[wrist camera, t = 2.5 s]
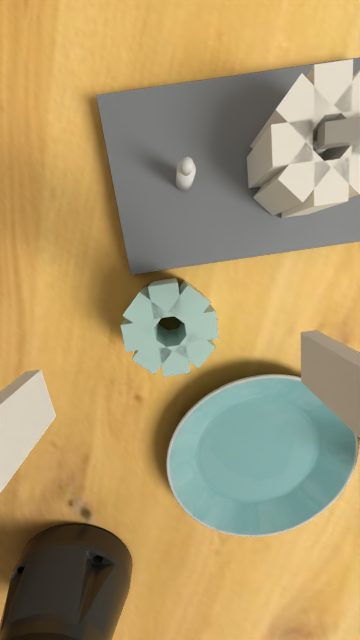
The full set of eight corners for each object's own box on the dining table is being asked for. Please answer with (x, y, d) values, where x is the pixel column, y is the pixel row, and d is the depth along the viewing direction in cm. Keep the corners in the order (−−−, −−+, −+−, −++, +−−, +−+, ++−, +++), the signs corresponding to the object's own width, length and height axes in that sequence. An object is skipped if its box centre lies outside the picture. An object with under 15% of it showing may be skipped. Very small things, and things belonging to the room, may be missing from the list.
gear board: (132, 273, 24) (121, 278, 18) (101, 106, 20) (75, 49, 15) (351, 241, 24) (406, 236, 18) (358, 70, 20) (429, -2, 15)
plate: (192, 345, 26) (194, 355, 23) (372, 385, 28) (394, 399, 25) (149, 500, 31) (147, 523, 28) (304, 524, 33) (316, 548, 31)
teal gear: (139, 358, 26) (132, 381, 21) (124, 285, 24) (113, 291, 19) (212, 347, 26) (221, 367, 21) (203, 273, 24) (212, 277, 19)
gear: (250, 222, 21) (279, 209, 16) (244, 118, 19) (274, 60, 14) (338, 209, 21) (398, 192, 16) (341, 104, 19) (411, 40, 14)
